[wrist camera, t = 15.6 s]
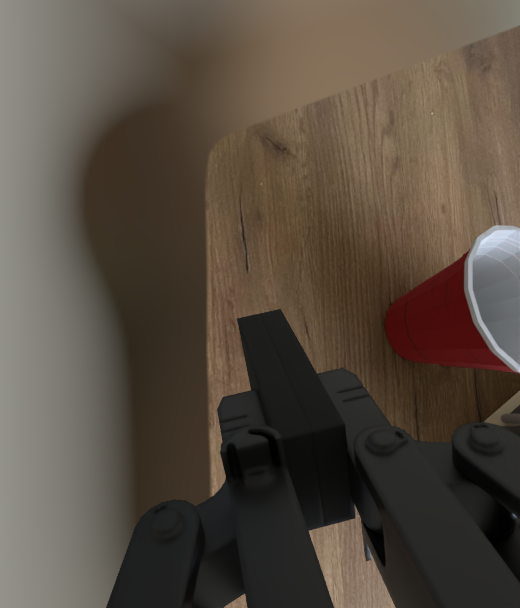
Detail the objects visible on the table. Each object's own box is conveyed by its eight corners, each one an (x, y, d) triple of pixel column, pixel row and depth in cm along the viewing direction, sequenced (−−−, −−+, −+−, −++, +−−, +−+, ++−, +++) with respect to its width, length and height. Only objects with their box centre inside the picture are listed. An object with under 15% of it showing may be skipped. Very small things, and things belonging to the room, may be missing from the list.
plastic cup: (451, 276, 46) (576, 234, 36) (460, 391, 44) (597, 383, 33) (357, 259, 42) (466, 206, 31) (360, 385, 40) (481, 374, 29)
